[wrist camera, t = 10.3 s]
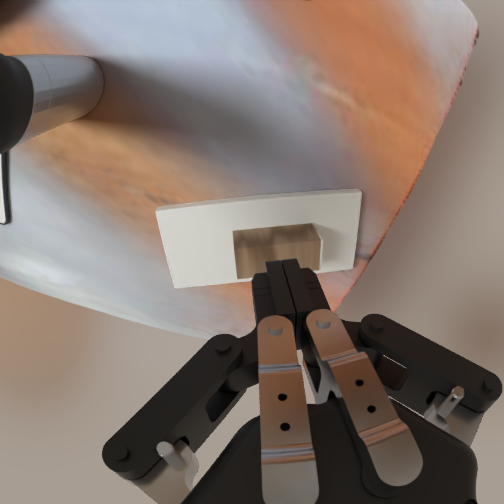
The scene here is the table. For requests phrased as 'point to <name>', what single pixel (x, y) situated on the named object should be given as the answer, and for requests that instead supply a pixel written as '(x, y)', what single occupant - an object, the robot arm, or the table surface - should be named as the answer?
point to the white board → (249, 217)
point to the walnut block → (276, 247)
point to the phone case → (3, 191)
